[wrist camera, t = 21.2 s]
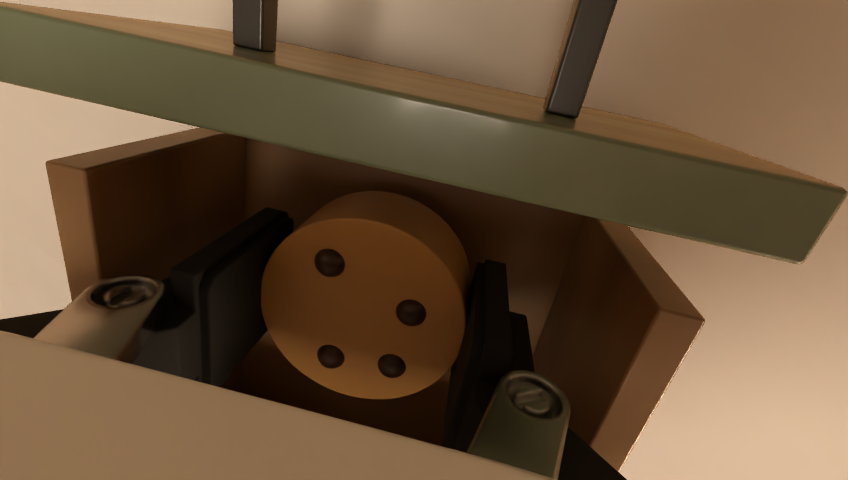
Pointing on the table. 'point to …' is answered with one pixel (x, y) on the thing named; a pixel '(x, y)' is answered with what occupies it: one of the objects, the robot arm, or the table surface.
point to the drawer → (411, 191)
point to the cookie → (369, 296)
